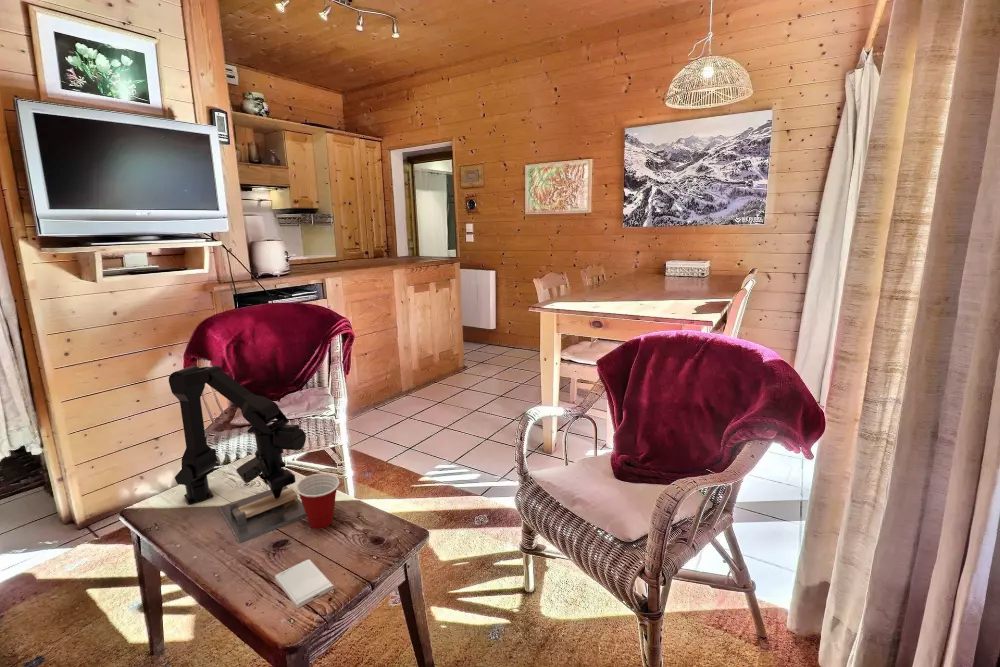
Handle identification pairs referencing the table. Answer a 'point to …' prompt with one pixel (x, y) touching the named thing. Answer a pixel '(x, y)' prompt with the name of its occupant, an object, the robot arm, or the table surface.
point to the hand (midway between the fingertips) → (277, 497)
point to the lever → (266, 503)
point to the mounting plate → (261, 516)
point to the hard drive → (303, 583)
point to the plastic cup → (318, 498)
